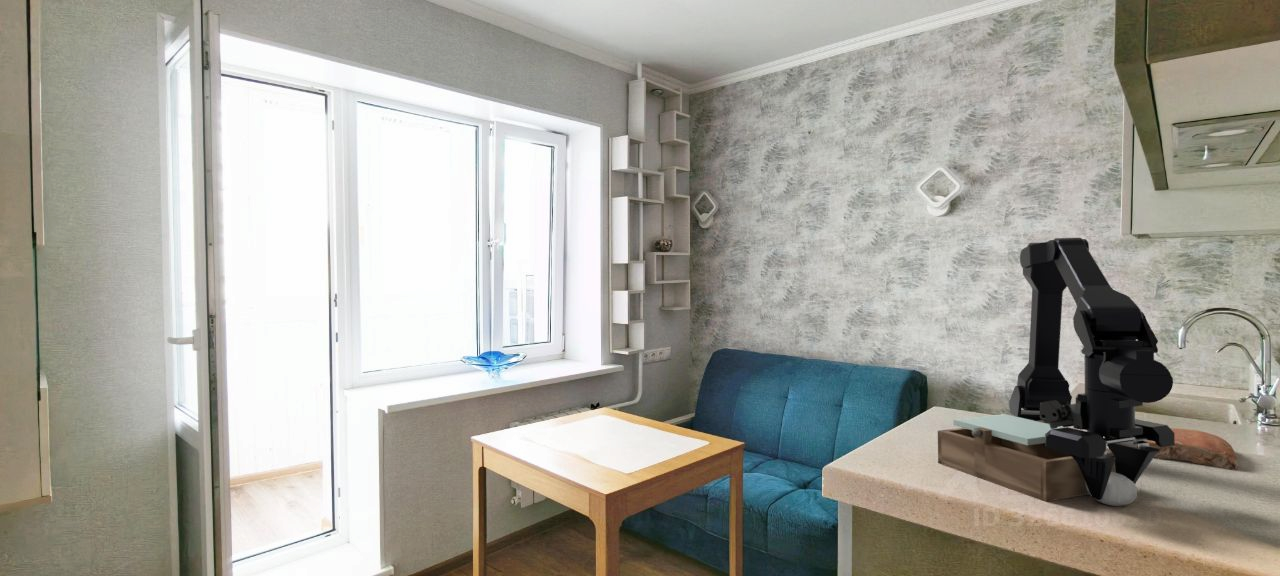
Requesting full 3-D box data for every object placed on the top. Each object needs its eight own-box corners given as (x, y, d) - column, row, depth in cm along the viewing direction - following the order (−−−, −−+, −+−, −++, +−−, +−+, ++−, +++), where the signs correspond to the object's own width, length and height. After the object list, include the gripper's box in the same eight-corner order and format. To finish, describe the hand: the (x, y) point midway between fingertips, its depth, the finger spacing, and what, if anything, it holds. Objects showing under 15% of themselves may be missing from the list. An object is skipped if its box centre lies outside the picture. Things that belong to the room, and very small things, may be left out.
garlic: (1081, 503, 86) (1081, 467, 86) (1087, 493, 90) (1086, 459, 90) (1135, 514, 82) (1135, 476, 82) (1138, 503, 86) (1138, 467, 86)
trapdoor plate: (1004, 419, 109) (1004, 413, 109) (1082, 437, 95) (1082, 431, 95) (953, 425, 105) (953, 419, 105) (1027, 445, 91) (1027, 438, 91)
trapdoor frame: (1008, 453, 111) (1007, 410, 111) (1124, 487, 92) (1123, 435, 92) (933, 463, 106) (933, 418, 105) (1041, 502, 87) (1040, 447, 86)
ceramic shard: (1124, 414, 120) (1226, 435, 111) (1118, 445, 120) (1220, 469, 111) (1129, 418, 108) (1243, 442, 99) (1122, 453, 108) (1236, 480, 99)
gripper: (1096, 377, 96) (1097, 472, 96) (1010, 384, 90) (1011, 486, 91) (1176, 388, 86) (1177, 495, 86) (1085, 398, 80) (1086, 512, 80)
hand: (1110, 496), depth 86 cm, fingers closed on garlic, 5 cm apart
